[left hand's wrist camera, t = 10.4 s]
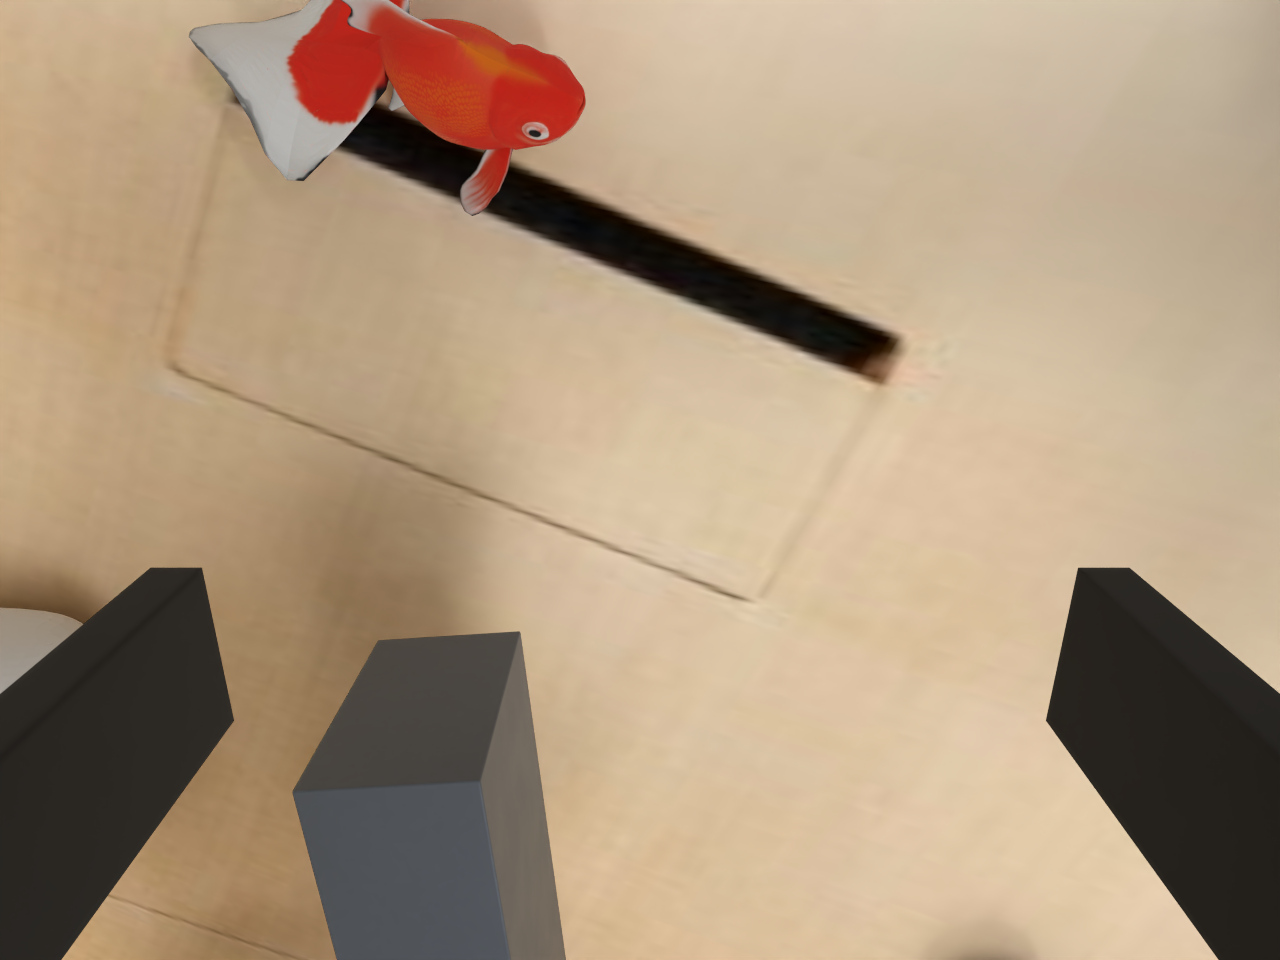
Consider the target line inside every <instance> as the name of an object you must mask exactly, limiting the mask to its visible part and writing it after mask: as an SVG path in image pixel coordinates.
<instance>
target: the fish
mask: <svg viewBox="0 0 1280 960" xmlns="http://www.w3.org/2000/svg"><path fill="white" fill-rule="evenodd" d="M189 38H190V39H191V40H192V42H193V43H194V44H195V46H196V47H197V48H198V49H199V50H200V51H201V52H202V53H203V54H204V55H205V56H206V57H207V58H208V59H209V60H210V61H211V62H212V64H213V65H214V66H215V68H216V69H217V70H218V71H219V73H220V74H221V75H222V77H223V78H224V79H225V81H226V82H227V83H228V84H229V86H230V87H231V89H232V90H233V92H234V94H235V95H236V97H237V99H238V100H239V102H240V104H241V105H242V107H243V109H244V110H245V112H246V114H247V115H248V117H249V118H250V120H251V122H252V125H253V127H254V129H255V132H256V134H257V136H258V139H259V141H260V143H261V145H262V148H263V150H264V152H265V154H266V156H267V157H268V158H269V159H270V160H271V162H272V163H273V164H274V165H275V166H276V167H277V169H278V170H279V171H280V172H281V173H282V174H283V176H284V177H285V178H286V179H287V180H296V181H304V180H305V179H306V178H307V177H308V176H309V175H310V174H311V173H312V172H313V171H314V170H315V169H316V168H317V167H318V166H319V165H320V164H321V163H322V162H323V161H324V160H325V159H326V158H327V157H328V156H329V155H330V154H331V153H332V152H333V151H334V150H335V149H336V148H337V147H338V146H339V145H340V144H341V143H342V142H343V141H344V139H345V138H346V137H347V136H348V135H349V134H350V133H351V131H352V130H353V129H354V128H355V127H356V126H357V124H358V123H359V122H360V121H361V120H362V118H363V117H364V116H365V115H366V114H367V112H368V111H369V110H370V109H371V108H372V106H373V105H374V104H375V103H376V101H377V100H378V99H379V98H380V96H381V95H382V94H383V93H384V92H385V90H386V87H387V84H388V80H390V81H391V83H392V85H393V87H394V88H393V94H392V98H391V102H390V105H389V109H390V110H392V111H393V110H395V109H397V108H400V107H402V106H404V105H405V106H406V108H407V109H408V110H409V112H410V113H411V114H412V115H413V116H414V117H415V118H417V119H418V120H419V121H420V122H421V123H422V124H423V125H424V126H425V127H427V128H428V129H429V130H430V131H432V132H433V133H435V134H436V135H437V136H439V137H441V138H443V139H444V140H447V141H449V142H452V143H456V144H459V145H463V146H467V147H471V148H476V149H482V150H485V152H484V154H483V155H482V158H481V160H480V162H479V164H478V166H477V169H476V170H475V171H474V172H473V174H472V175H471V176H470V177H469V178H468V179H467V180H466V181H465V182H464V183H463V184H462V186H461V188H460V198H461V204H462V206H463V208H464V210H465V212H467V213H469V214H470V215H472V216H473V215H476V214H479V213H480V212H481V211H482V210H484V209H485V208H486V207H487V205H488V204H489V202H490V201H491V199H492V198H493V197H494V196H495V195H496V194H497V193H498V192H499V190H500V188H501V185H502V183H503V181H504V179H505V176H506V174H507V171H508V167H509V163H510V159H511V154H512V150H513V149H515V150H516V149H522V148H528V147H533V146H541V145H546V144H549V143H551V142H554V141H557V140H558V139H559V138H560V137H562V136H563V135H564V134H566V133H567V132H568V131H570V130H571V129H572V128H573V127H574V125H575V124H576V123H577V121H578V119H579V117H580V115H581V114H582V112H583V110H584V107H585V93H584V90H583V88H582V86H581V85H580V83H579V82H578V81H577V79H576V78H575V76H574V75H573V73H572V72H571V70H570V68H569V67H568V65H567V64H566V62H565V61H564V60H563V59H561V58H560V57H558V56H555V55H550V54H545V53H542V52H540V51H538V50H536V49H534V48H532V47H530V46H527V45H522V44H517V45H512V44H511V43H509V42H507V41H506V40H504V39H503V38H501V37H499V36H498V35H496V34H495V33H493V32H491V31H489V30H488V29H486V28H484V27H481V26H478V25H475V24H472V23H468V22H464V21H458V20H451V19H424V20H420V19H418V18H416V17H414V16H412V15H410V14H409V0H310V1H309V2H308V4H307V5H306V6H305V7H304V8H303V9H302V10H300V11H297V12H294V13H291V14H288V15H285V16H281V17H278V18H274V19H270V20H266V21H263V22H249V23H224V24H214V25H208V26H203V27H197V28H194V29H193V30H192V31H190V34H189Z"/></svg>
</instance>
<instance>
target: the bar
mask: <svg viewBox="0 0 1280 960" xmlns="http://www.w3.org/2000/svg"><path fill="white" fill-rule="evenodd" d="M293 796H294V800H295V804H296V808H297V811H298V815H299V819H300V823H301V826H302V830H303V834H304V838H305V841H306V845H307V849H308V853H309V857H310V860H311V864H312V868H313V872H314V875H315V879H316V883H317V887H318V890H319V894H320V898H321V902H322V905H323V909H324V913H325V917H326V921H327V924H328V928H329V932H330V936H331V939H332V943H333V947H334V951H335V954H336V958H337V960H566V957H565V950H564V943H563V936H562V929H561V921H560V914H559V907H558V900H557V893H556V885H555V878H554V871H553V864H552V857H551V849H550V842H549V835H548V828H547V821H546V813H545V806H544V799H543V792H542V785H541V778H540V770H539V763H538V756H537V749H536V742H535V734H534V727H533V720H532V713H531V706H530V698H529V691H528V684H527V677H526V670H525V662H524V655H523V648H522V641H521V634H520V632H504V633H488V634H472V635H456V636H440V637H424V638H408V639H392V640H379V641H378V642H377V644H376V645H375V647H374V649H373V651H372V652H371V654H370V656H369V658H368V659H367V661H366V663H365V665H364V666H363V668H362V670H361V672H360V674H359V675H358V677H357V679H356V681H355V682H354V684H353V686H352V688H351V689H350V691H349V693H348V695H347V696H346V698H345V700H344V702H343V703H342V705H341V707H340V709H339V711H338V712H337V714H336V716H335V718H334V719H333V721H332V723H331V725H330V726H329V728H328V730H327V732H326V733H325V735H324V737H323V739H322V741H321V742H320V744H319V746H318V748H317V749H316V751H315V753H314V755H313V756H312V758H311V760H310V762H309V763H308V765H307V767H306V769H305V770H304V772H303V774H302V776H301V778H300V779H299V781H298V783H297V785H296V786H295V788H294V790H293Z"/></svg>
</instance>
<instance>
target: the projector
mask: <svg viewBox="0 0 1280 960" xmlns="http://www.w3.org/2000/svg"><path fill="white" fill-rule="evenodd" d="M82 625H83V623H81V622H79V621H77V620H75V619H73V618H71V617H68V616H65V615H62V614H58V613H53V612H48V611H41V610H30V609H20V608H0V694H1V693H2V692H3V691H4V690H5V689H7V688H8V687H9V686H10V685H11V684H13V683H14V682H15V681H16V680H17V679H19V678H20V677H21V676H22V675H23V674H24V673H26V672H27V671H28V670H29V669H30V668H32V667H33V666H34V665H35V664H36V663H38V662H39V661H40V660H41V659H42V658H44V657H45V656H46V655H47V654H48V653H50V652H51V651H52V650H53V649H54V648H56V647H57V646H58V645H59V644H60V643H61V642H63V641H64V640H65V639H66V638H67V637H69V636H70V635H71V634H72V633H73V632H75V631H76V630H77V629H78V628H79V627H81V626H82Z"/></svg>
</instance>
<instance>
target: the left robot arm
mask: <svg viewBox="0 0 1280 960" xmlns="http://www.w3.org/2000/svg"><path fill="white" fill-rule="evenodd" d="M233 721H234V718H233V714H232V709H231V704H230V699H229V695H228V690H227V685H226V680H225V676H224V671H223V666H222V661H221V657H220V652H219V647H218V642H217V638H216V633H215V628H214V623H213V619H212V614H211V609H210V604H209V600H208V595H207V590H206V585H205V581H204V576H203V571H202V568H150V569H149V570H147V571H146V572H145V573H144V574H143V575H141V576H140V577H139V578H138V579H137V580H136V581H134V582H133V583H132V584H131V585H130V586H128V587H127V588H126V589H125V590H124V591H122V592H121V593H120V594H119V595H118V596H116V597H115V598H114V599H113V600H112V601H110V602H109V603H108V604H107V605H106V606H104V607H103V608H102V609H101V610H100V611H99V612H97V613H96V614H95V615H94V616H93V617H91V618H90V619H89V620H88V621H87V622H85V623H84V624H83V625H82V626H81V627H79V628H78V629H77V630H76V631H75V632H73V633H72V634H71V635H70V636H69V637H67V638H66V639H65V640H64V641H63V642H61V643H60V644H59V645H58V646H57V647H56V648H54V649H53V650H52V651H51V652H50V653H48V654H47V655H46V656H45V657H44V658H42V659H41V660H40V661H39V662H38V663H36V664H35V665H34V666H33V667H32V668H30V669H29V670H28V671H27V672H26V673H24V674H23V675H22V676H21V677H20V678H19V679H17V680H16V681H15V682H14V683H13V684H11V685H10V686H9V687H8V688H7V689H5V690H4V691H3V692H2V693H1V694H0V960H62V958H63V957H64V955H65V954H66V953H67V951H68V950H69V948H70V947H71V946H72V944H73V943H74V942H75V940H76V939H77V937H78V936H79V935H80V933H81V932H82V930H83V929H84V928H85V926H86V925H87V923H88V922H89V921H90V919H91V918H92V917H93V915H94V914H95V912H96V911H97V910H98V908H99V907H100V905H101V904H102V903H103V901H104V900H105V899H106V897H107V896H108V894H109V893H110V892H111V890H112V889H113V887H114V886H115V885H116V883H117V882H118V881H119V879H120V878H121V876H122V875H123V874H124V872H125V871H126V869H127V868H128V867H129V865H130V864H131V863H132V861H133V860H134V858H135V857H136V856H137V854H138V853H139V851H140V850H141V849H142V847H143V846H144V845H145V843H146V842H147V840H148V839H149V838H150V836H151V835H152V833H153V832H154V831H155V829H156V828H157V826H158V825H159V824H160V822H161V821H162V820H163V818H164V817H165V815H166V814H167V813H168V811H169V810H170V808H171V807H172V806H173V804H174V803H175V802H176V800H177V799H178V797H179V796H180V795H181V793H182V792H183V790H184V789H185V788H186V786H187V785H188V784H189V782H190V781H191V779H192V778H193V777H194V775H195V774H196V772H197V771H198V770H199V768H200V767H201V766H202V764H203V763H204V761H205V760H206V759H207V757H208V756H209V754H210V753H211V752H212V750H213V749H214V747H215V746H216V745H217V743H218V742H219V741H220V739H221V738H222V736H223V735H224V734H225V732H226V731H227V729H228V728H229V727H230V725H231V724H232V723H233ZM1046 721H1047V723H1048V724H1049V725H1050V727H1051V728H1052V729H1053V731H1054V732H1055V734H1056V735H1057V736H1058V738H1059V739H1060V741H1061V742H1062V743H1063V745H1064V746H1065V748H1066V749H1067V750H1068V752H1069V753H1070V754H1071V756H1072V757H1073V759H1074V760H1075V761H1076V763H1077V764H1078V766H1079V767H1080V768H1081V770H1082V771H1083V772H1084V774H1085V775H1086V777H1087V778H1088V779H1089V781H1090V782H1091V784H1092V785H1093V786H1094V788H1095V789H1096V790H1097V792H1098V793H1099V795H1100V796H1101V797H1102V799H1103V800H1104V802H1105V803H1106V804H1107V806H1108V807H1109V808H1110V810H1111V811H1112V813H1113V814H1114V815H1115V817H1116V818H1117V820H1118V821H1119V822H1120V824H1121V825H1122V826H1123V828H1124V829H1125V831H1126V832H1127V833H1128V835H1129V836H1130V838H1131V839H1132V840H1133V842H1134V843H1135V845H1136V846H1137V847H1138V849H1139V850H1140V851H1141V853H1142V854H1143V856H1144V857H1145V858H1146V860H1147V861H1148V863H1149V864H1150V865H1151V867H1152V868H1153V869H1154V871H1155V872H1156V874H1157V875H1158V876H1159V878H1160V879H1161V881H1162V882H1163V883H1164V885H1165V886H1166V887H1167V889H1168V890H1169V892H1170V893H1171V894H1172V896H1173V897H1174V899H1175V900H1176V901H1177V903H1178V904H1179V905H1180V907H1181V908H1182V910H1183V911H1184V912H1185V914H1186V915H1187V917H1188V918H1189V919H1190V921H1191V922H1192V923H1193V925H1194V926H1195V928H1196V929H1197V930H1198V932H1199V933H1200V935H1201V936H1202V937H1203V939H1204V940H1205V942H1206V943H1207V944H1208V946H1209V947H1210V948H1211V950H1212V951H1213V953H1214V954H1215V955H1216V957H1217V958H1218V960H1280V694H1279V693H1278V692H1277V691H1276V690H1275V689H1273V688H1272V687H1271V686H1270V685H1269V684H1267V683H1266V682H1265V681H1264V680H1263V679H1261V678H1260V677H1259V676H1258V675H1257V674H1256V673H1254V672H1253V671H1252V670H1251V669H1250V668H1248V667H1247V666H1246V665H1245V664H1244V663H1242V662H1241V661H1240V660H1239V659H1238V658H1236V657H1235V656H1234V655H1233V654H1232V653H1230V652H1229V651H1228V650H1227V649H1226V648H1224V647H1223V646H1222V645H1221V644H1220V643H1219V642H1217V641H1216V640H1215V639H1214V638H1213V637H1211V636H1210V635H1209V634H1208V633H1207V632H1205V631H1204V630H1203V629H1202V628H1201V627H1199V626H1198V625H1197V624H1196V623H1195V622H1193V621H1192V620H1191V619H1190V618H1189V617H1187V616H1186V615H1185V614H1184V613H1183V612H1181V611H1180V610H1179V609H1178V608H1177V607H1176V606H1174V605H1173V604H1172V603H1171V602H1170V601H1168V600H1167V599H1166V598H1165V597H1164V596H1162V595H1161V594H1160V593H1159V592H1158V591H1156V590H1155V589H1154V588H1153V587H1152V586H1150V585H1149V584H1148V583H1147V582H1146V581H1144V580H1143V579H1142V578H1141V577H1140V576H1139V575H1137V574H1136V573H1135V572H1134V571H1133V570H1131V569H1130V568H1078V571H1077V576H1076V581H1075V585H1074V590H1073V595H1072V600H1071V604H1070V609H1069V614H1068V619H1067V623H1066V628H1065V633H1064V638H1063V642H1062V647H1061V652H1060V657H1059V661H1058V666H1057V671H1056V676H1055V680H1054V685H1053V690H1052V695H1051V699H1050V704H1049V709H1048V714H1047V718H1046Z"/></svg>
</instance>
